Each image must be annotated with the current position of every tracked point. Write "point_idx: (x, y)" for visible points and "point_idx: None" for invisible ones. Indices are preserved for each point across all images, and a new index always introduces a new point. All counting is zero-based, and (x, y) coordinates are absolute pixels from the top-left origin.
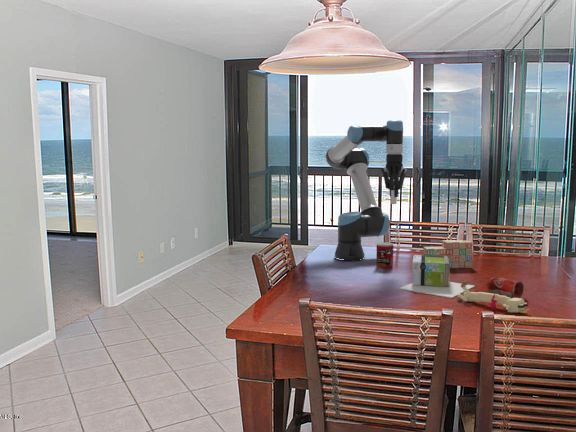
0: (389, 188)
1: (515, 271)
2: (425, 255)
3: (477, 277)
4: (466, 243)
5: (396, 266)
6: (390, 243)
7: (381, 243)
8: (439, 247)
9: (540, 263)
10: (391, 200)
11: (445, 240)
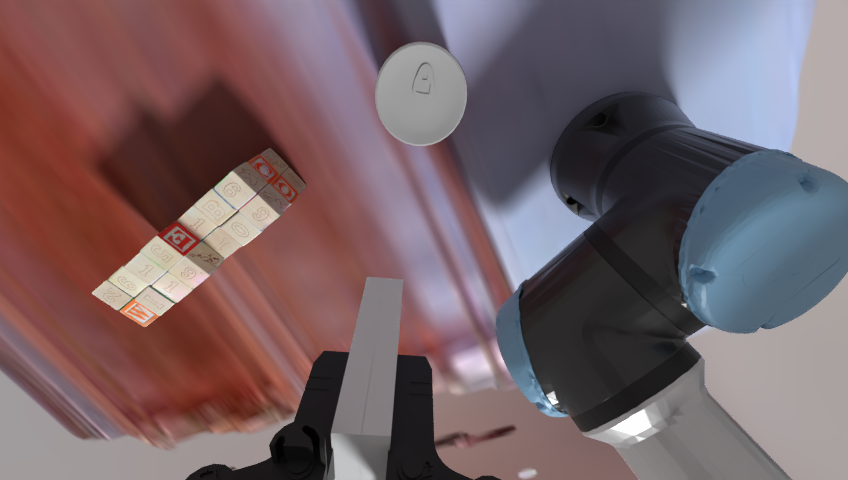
0: (428, 475)
1: (35, 253)
2: (267, 180)
3: (29, 93)
4: (108, 278)
5: None
6: (402, 133)
7: (449, 114)
8: (218, 236)
9: (78, 370)
10: (392, 305)
11: (196, 277)
